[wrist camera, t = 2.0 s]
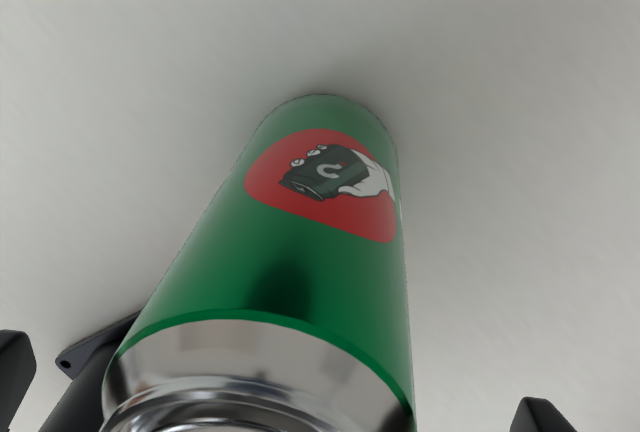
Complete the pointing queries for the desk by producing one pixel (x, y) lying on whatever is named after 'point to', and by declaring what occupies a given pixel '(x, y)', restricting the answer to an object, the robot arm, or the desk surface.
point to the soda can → (281, 293)
